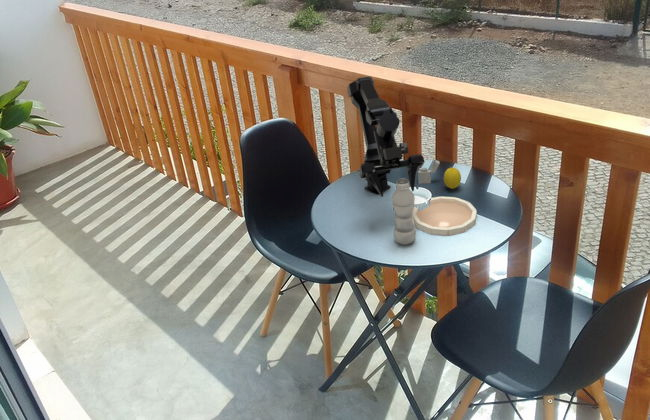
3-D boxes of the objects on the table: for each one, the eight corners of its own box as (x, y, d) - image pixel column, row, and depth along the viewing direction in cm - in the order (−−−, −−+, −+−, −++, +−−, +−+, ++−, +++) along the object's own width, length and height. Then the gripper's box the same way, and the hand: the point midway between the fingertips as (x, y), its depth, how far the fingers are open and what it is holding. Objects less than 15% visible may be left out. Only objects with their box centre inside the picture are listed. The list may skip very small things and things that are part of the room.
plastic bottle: (412, 233, 178) (410, 174, 167) (419, 245, 172) (417, 185, 162) (391, 237, 177) (387, 178, 167) (397, 249, 171) (394, 189, 161)
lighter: (418, 183, 203) (418, 162, 199) (418, 181, 204) (418, 160, 200) (439, 183, 202) (439, 162, 198) (439, 180, 203) (439, 159, 199)
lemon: (460, 193, 195) (461, 171, 190) (443, 192, 196) (443, 171, 192) (460, 184, 199) (461, 163, 195) (444, 184, 200) (444, 163, 196)
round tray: (400, 220, 184) (399, 215, 183) (438, 196, 194) (438, 190, 193) (449, 242, 171) (449, 236, 170) (488, 215, 182) (488, 209, 181)
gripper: (358, 139, 168) (369, 191, 164) (421, 128, 170) (434, 179, 166) (354, 153, 179) (365, 202, 175) (414, 143, 180) (426, 191, 177)
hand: (397, 193), depth 173 cm, fingers open, 9 cm apart
